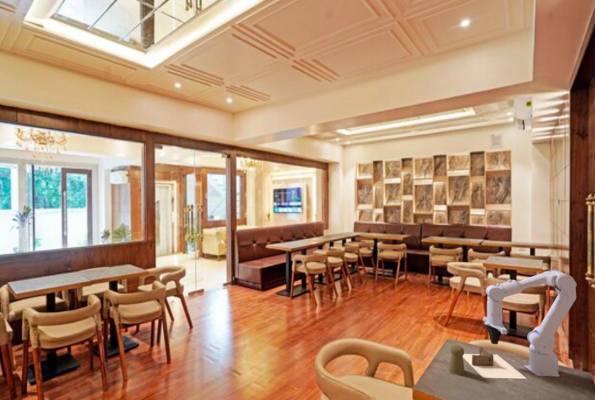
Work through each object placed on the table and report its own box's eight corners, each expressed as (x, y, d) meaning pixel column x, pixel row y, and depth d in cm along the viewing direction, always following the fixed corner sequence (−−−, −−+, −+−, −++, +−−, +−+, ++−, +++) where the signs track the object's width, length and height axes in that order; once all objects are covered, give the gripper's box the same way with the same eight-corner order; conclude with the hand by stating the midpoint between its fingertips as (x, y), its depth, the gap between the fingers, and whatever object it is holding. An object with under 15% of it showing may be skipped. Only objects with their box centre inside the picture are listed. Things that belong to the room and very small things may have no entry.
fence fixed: (482, 355, 145) (482, 345, 145) (494, 366, 136) (494, 355, 136) (478, 355, 145) (478, 345, 145) (490, 366, 136) (490, 355, 136)
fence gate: (489, 365, 136) (489, 356, 136) (473, 365, 136) (473, 356, 136) (487, 363, 138) (487, 354, 138) (471, 363, 138) (471, 354, 138)
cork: (461, 368, 135) (461, 343, 135) (467, 376, 129) (467, 350, 129) (446, 368, 135) (447, 342, 135) (452, 375, 129) (452, 349, 129)
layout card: (497, 355, 146) (497, 354, 146) (526, 379, 127) (526, 378, 127) (459, 354, 147) (459, 353, 147) (483, 378, 127) (483, 377, 127)
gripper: (476, 307, 146) (476, 336, 146) (495, 319, 131) (494, 351, 131) (492, 307, 146) (491, 336, 146) (512, 319, 131) (512, 351, 131)
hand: (494, 343), depth 139 cm, fingers closed
